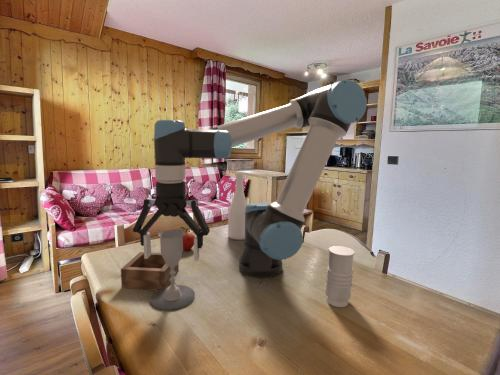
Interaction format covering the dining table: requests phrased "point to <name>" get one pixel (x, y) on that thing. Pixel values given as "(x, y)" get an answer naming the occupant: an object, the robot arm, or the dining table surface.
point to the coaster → (162, 304)
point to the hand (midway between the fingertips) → (172, 258)
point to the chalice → (172, 258)
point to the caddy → (146, 272)
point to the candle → (339, 275)
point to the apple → (187, 240)
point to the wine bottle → (237, 211)
